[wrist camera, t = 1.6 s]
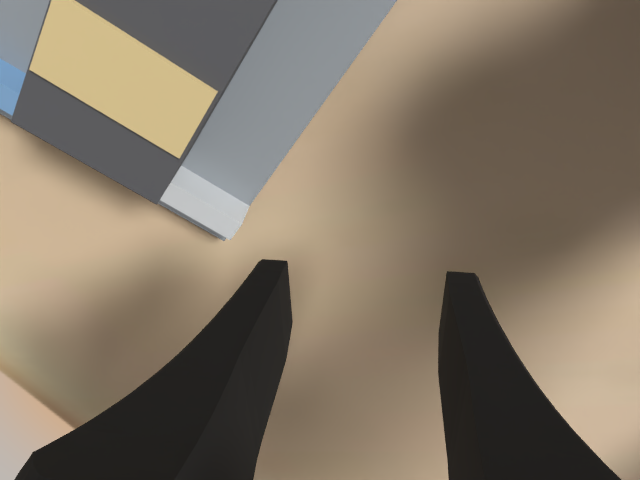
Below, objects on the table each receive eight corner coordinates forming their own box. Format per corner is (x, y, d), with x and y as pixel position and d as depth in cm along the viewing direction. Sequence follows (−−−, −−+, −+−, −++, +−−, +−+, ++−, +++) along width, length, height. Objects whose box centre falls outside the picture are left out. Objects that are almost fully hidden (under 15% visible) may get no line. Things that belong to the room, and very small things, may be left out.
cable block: (337, -103, 16) (319, -76, 14) (189, 151, 22) (155, 207, 19) (176, -226, 15) (119, -226, 12) (64, 76, 21) (7, 123, 18)
